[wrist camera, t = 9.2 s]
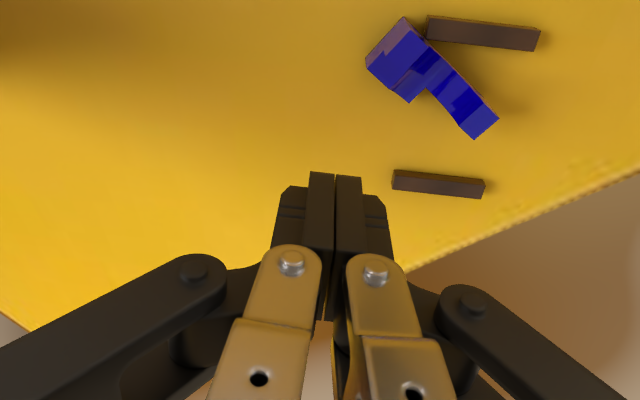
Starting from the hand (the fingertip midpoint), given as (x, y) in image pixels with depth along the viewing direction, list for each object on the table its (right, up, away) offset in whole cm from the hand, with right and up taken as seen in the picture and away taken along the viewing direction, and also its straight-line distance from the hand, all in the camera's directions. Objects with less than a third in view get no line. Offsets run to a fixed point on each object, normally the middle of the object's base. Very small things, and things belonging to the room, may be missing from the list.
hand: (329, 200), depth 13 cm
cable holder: (+7, +9, +17) cm, 21 cm away
